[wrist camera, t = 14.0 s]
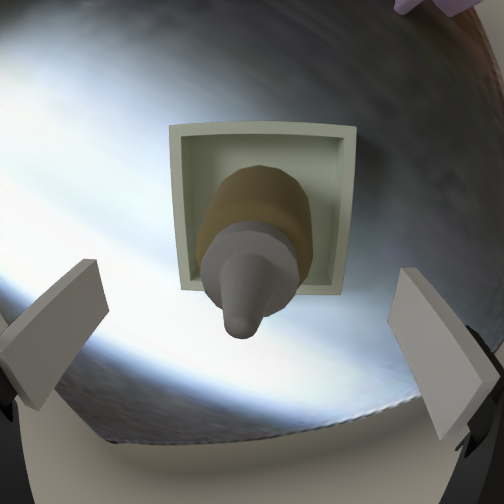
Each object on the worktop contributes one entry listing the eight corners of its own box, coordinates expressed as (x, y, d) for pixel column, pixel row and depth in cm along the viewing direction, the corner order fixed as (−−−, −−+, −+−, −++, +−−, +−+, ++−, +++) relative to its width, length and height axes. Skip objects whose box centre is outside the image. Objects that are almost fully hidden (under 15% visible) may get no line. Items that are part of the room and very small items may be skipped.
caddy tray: (190, 273, 31) (181, 289, 27) (181, 126, 25) (168, 125, 22) (334, 277, 30) (340, 294, 26) (346, 127, 24) (356, 126, 21)
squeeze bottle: (324, 205, 26) (396, 323, 10) (262, 262, 29) (246, 418, 12) (261, 142, 25) (233, 156, 8) (200, 205, 27) (100, 315, 11)
